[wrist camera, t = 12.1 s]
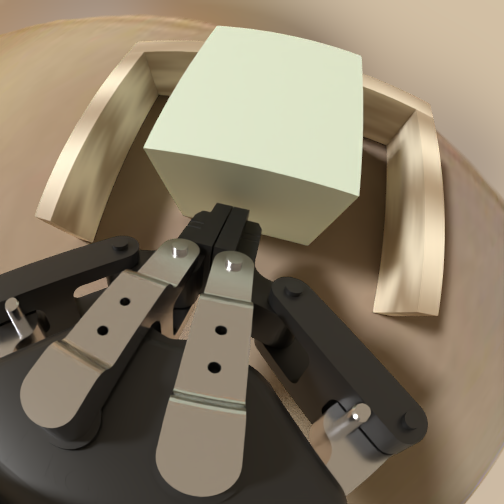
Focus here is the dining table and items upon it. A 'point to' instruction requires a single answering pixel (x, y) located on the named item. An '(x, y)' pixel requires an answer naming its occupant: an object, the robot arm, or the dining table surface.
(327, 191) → the sage block
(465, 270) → the dining table surface
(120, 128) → the birch corral
